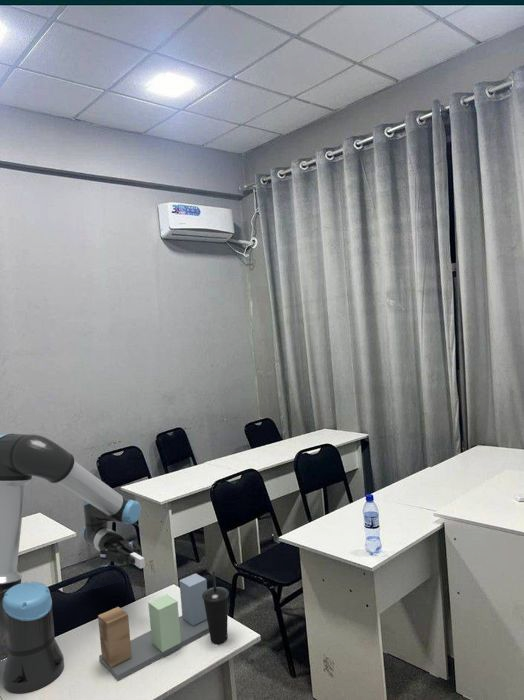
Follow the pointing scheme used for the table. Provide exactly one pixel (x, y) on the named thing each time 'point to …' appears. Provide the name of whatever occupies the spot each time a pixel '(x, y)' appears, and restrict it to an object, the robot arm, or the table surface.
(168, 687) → the table surface
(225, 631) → the drinking cup
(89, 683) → the table surface
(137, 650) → the grey flat board
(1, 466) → the robot arm
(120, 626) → the brown wooden block
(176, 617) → the pale green block
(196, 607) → the blue-grey tall block
